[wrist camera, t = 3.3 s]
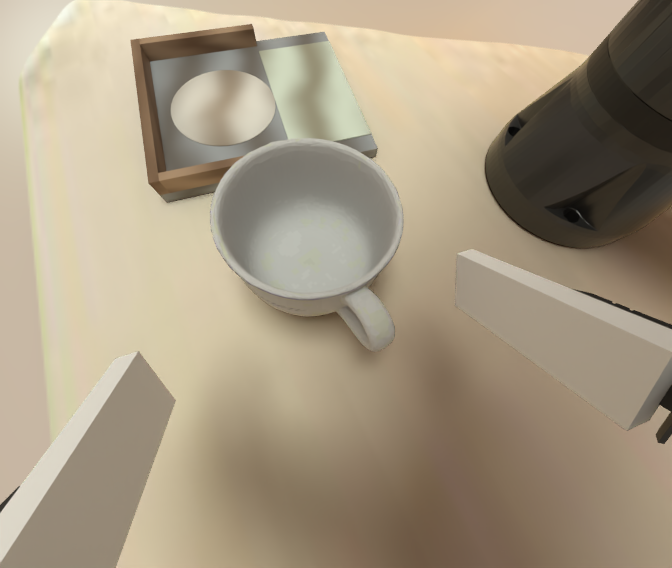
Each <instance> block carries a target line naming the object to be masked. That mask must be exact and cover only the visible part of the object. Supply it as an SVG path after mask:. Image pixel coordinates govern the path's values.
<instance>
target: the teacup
mask: <svg viewBox="0 0 672 568" xmlns="http://www.w3.org/2000/svg"><path fill="white" fill-rule="evenodd" d="M210 224H211V232H212V233H213V239H214V241H215V244H216V247H217V249H218V251H219V252H220V254H221V256H222V257H223V259H224V260H225V261H226V263H227V264H228V265H229V267H230V268H231V269H232V270H233V271H234V272H235V273H236V274H237V275H239V276H240V277H241V279H242V280H243V281H244V282H245V284H246V285H247V286H248V287H249V288H250V289H251V290H252V291H253V292H254V293H255V294H256V295H257V296H258V297H259V298H260V299H261V300H263V301H264V302H266V303H267V304H269V305H270V306H272V307H274V308H276V309H278V310H280V311H283V312H286V313H289V314H293V315H298V316H320V315H325V314H329V313H333V312H337V313H338V314H339V315H340V316H341V317H342V318H343V320H344V321H345V323H346V324H347V325H348V327H349V328H350V329H351V331H352V332H353V333H354V335H355V336H356V337H357V339H358V340H359V341H360V342H361V344H362V345H363V346H364V347H366V348H367V349H368V350H370V351H373V352H376V351H380V350H382V349H384V348H386V347H387V346H388V345H389V344H391V343H392V341H393V339H394V337H395V327H394V324H393V321H392V319H391V316H390V314H389V313H388V311H387V309H386V308H385V306H384V305H383V303H382V302H381V301H380V299H379V298H378V297H377V296H376V295H375V294H374V293H373V292H372V291H371V290H370V289H368V287H369V286H370V285H371V284H372V282H373V281H374V280H375V278H376V277H377V276H378V274H379V273H380V272H381V271H382V270H383V269H384V267H385V266H386V265H387V264H388V263H389V262H390V260H391V259H392V257H393V256H394V254H395V252H396V250H397V248H398V246H399V243H400V239H401V236H402V231H403V209H402V205H401V202H400V199H399V196H398V192H397V190H396V188H395V186H394V185H393V183H392V181H391V180H390V179H389V177H388V176H387V175H386V173H385V172H384V171H383V169H381V168H380V167H379V166H378V165H377V164H376V163H375V162H374V161H372V160H371V159H370V158H368V157H367V156H365V155H364V154H362V153H360V152H359V151H357V150H355V149H353V148H351V147H348V146H346V145H343V144H340V143H337V142H333V141H329V140H323V139H314V138H300V139H288V140H282V141H275V142H270V143H269V144H267V145H265V146H262V147H260V148H258V149H256V150H254V151H251V152H249V153H248V154H246V155H245V156H244V157H243V158H241V159H240V160H238V161H236V162H235V163H234V164H233V165H232V166H231V168H230V169H229V170H228V171H227V172H226V173H225V175H224V176H223V178H222V179H221V181H220V183H219V185H218V186H217V188H216V191H215V193H214V196H213V199H212V204H211V211H210Z"/></svg>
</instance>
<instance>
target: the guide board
mask: <svg viewBox="0 0 672 568" xmlns="http://www.w3.org/2000/svg"><path fill="white" fill-rule="evenodd" d="M131 48H132V56H133V64H134V72H135V79H136V87H137V95H138V103H139V111H140V119H141V127H142V135H143V143H144V151H145V159H146V167H147V175H148V183H149V184H150V185H151V186H152V187H153V188H154V189H155V190H156V191H157V193H158V194H159V195H160V196H161V197H162V198H163V199H164V200H165V201H166V202H171V201H176V200H180V199H185V198H189V197H194V196H198V195H203V194H208V193H212V192H215V191H216V188H217V186H218V185H219V183H220V181H221V179H222V178H223V176H224V175H225V173H226V172H227V171H228V170H229V169H230V168H231V166H232V165H233V164H234V163H235V162H236V161H238V160H240V159H241V158H243V157H244V156H245V155H246V154H248V153H249V152H251V151H254V150H256V149H258V148H260V147H262V146H265V145H267V144H269V143H270V142H275V141H282V140H288V139H300V138H314V139H323V140H329V141H333V142H337V143H340V144H343V145H346V146H348V147H351V148H353V149H355V150H357V151H359V152H360V153H362V154H364V155H365V156H367V157H368V158H371V157H376V153H377V149H378V148H377V146H376V144H375V141H374V139H373V137H372V135H371V134H372V133H371V131H370V129H369V127H368V125H367V123H366V120H365V118H364V116H363V114H362V112H361V109H360V107H359V105H358V103H357V101H356V99H355V96H354V94H353V92H352V90H351V88H350V85H349V83H348V81H347V79H346V77H345V75H344V72H343V70H342V68H341V66H340V64H339V61H338V59H337V57H336V55H335V53H334V51H333V48H332V46H331V44H330V42H329V41H328V39H327V36H326V34H325V32H320V33H312V34H305V35H298V36H291V37H284V38H277V39H270V40H263V41H256V39H255V34H254V29H253V26H252V24H249V25H242V26H234V27H226V28H219V29H211V30H203V31H196V32H188V33H180V34H173V35H165V36H157V37H150V38H142V39H134V40H131Z"/></svg>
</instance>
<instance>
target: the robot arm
mask: <svg viewBox="0 0 672 568" xmlns="http://www.w3.org/2000/svg"><path fill="white" fill-rule="evenodd" d="M486 175H487V179H488V183H489V185H490V188H491V190H492V192H493V194H494V196H495V198H496V199H497V201H498V202H499V204H500V205H501V206H502V208H503V209H504V210H505V211H506V212H507V213H508V214H509V215H510V216H511V217H512V218H513V219H514V220H515V221H516V222H517V223H518V224H520V225H521V226H522V227H524V228H525V229H527V230H528V231H530V232H531V233H533V234H535V235H537V236H539V237H541V238H543V239H545V240H547V241H550V242H553V243H556V244H559V245H563V246H568V247H575V248H592V247H599V246H603V245H606V244H608V243H611V242H613V241H616V240H618V239H620V238H623V237H625V236H627V235H630V234H632V233H634V232H636V231H638V230H640V229H641V228H643V227H645V226H646V225H647V224H649V223H650V222H651V221H653V220H654V219H655V218H656V217H658V216H659V215H660V214H661V213H663V212H664V211H665V210H667V209H668V208H669V207H670V206H672V0H638V1H637V3H636V4H635V5H634V6H633V7H632V8H631V9H630V11H629V12H628V13H627V14H626V15H625V16H624V18H622V20H621V21H620V22H619V23H618V24H617V25H616V26H615V28H614V29H613V30H612V31H611V33H610V34H609V35H608V36H607V37H606V38H605V39H604V41H603V42H602V43H601V44H600V45H599V46H598V47H597V49H596V50H595V51H594V52H593V53H592V54H591V55H590V56H589V57H588V59H587V60H586V61H585V62H584V63H583V64H582V65H581V66H579V67H578V68H577V69H576V70H574V71H573V72H572V73H570V74H569V75H568V76H567V77H565V78H564V79H563V80H561V81H560V82H559V83H557V84H556V85H555V86H553V87H552V88H551V89H549V90H548V91H547V92H546V93H544V94H543V95H542V96H540V97H539V98H538V99H536V100H535V101H534V102H532V103H531V104H530V105H528V106H527V107H526V108H525V109H523V110H522V111H521V112H519V113H518V114H517V115H515V116H514V117H513V118H512V119H511V120H510V121H509V122H508V123H507V124H506V126H505V127H504V128H503V130H502V131H501V132H500V133H499V135H498V136H497V137H496V139H495V140H494V141H493V143H492V144H491V146H490V148H489V150H488V153H487V157H486ZM455 306H456V307H458V308H459V309H461V310H462V311H463V312H465V313H466V314H467V315H469V316H470V317H471V318H473V319H474V320H476V321H477V322H478V323H480V324H481V325H482V326H484V327H485V328H487V329H488V330H489V331H491V332H492V333H493V334H495V335H496V336H497V337H499V338H500V339H502V340H503V341H504V342H506V343H507V344H508V345H510V346H511V347H513V348H514V349H515V350H517V351H518V352H519V353H521V354H522V355H523V356H525V357H526V358H528V359H529V360H530V361H532V362H533V363H534V364H536V365H537V366H539V367H540V368H541V369H543V370H544V371H545V372H547V373H548V374H549V375H551V376H552V377H554V378H555V379H556V380H558V381H559V382H560V383H562V384H563V385H565V386H566V387H567V388H569V389H570V390H571V391H573V392H574V393H575V394H577V395H578V396H580V397H581V398H582V399H584V400H585V401H586V402H588V403H589V404H590V405H592V406H593V407H595V408H596V409H597V410H599V411H600V412H601V413H603V414H604V415H606V416H607V417H608V418H610V419H611V420H612V421H614V422H615V423H616V424H618V425H619V426H621V427H622V428H623V429H625V430H626V431H628V430H630V429H632V428H634V427H636V426H638V425H640V424H642V423H645V422H647V421H649V420H650V418H651V417H652V415H653V414H654V412H655V411H656V409H657V408H658V406H659V405H661V406H663V407H664V408H666V409H668V410H669V411H671V413H670V414H669V415H668V417H667V418H666V420H665V421H664V423H663V424H662V425H661V427H660V428H659V430H658V432H657V433H656V437H657V441H658V443H662V444H665V442H666V441H667V440H668V438H669V437H670V436H671V434H672V325H670V324H668V323H665V322H663V321H660V320H658V319H655V318H653V317H650V316H648V315H645V314H642V313H640V312H637V311H635V310H633V311H631V310H630V308H627V307H625V306H622V305H620V304H617V303H616V304H613V303H612V301H609V300H607V299H604V298H602V297H599V296H597V295H594V294H591V293H587V292H583V291H578V290H574V289H570V288H568V287H565V286H563V285H561V284H558V283H556V282H553V281H551V280H548V279H546V278H543V277H541V276H538V275H536V274H533V273H531V272H528V271H526V270H523V269H521V268H518V267H516V266H513V265H511V264H508V263H506V262H504V261H501V260H499V259H496V258H494V257H491V256H489V255H486V254H484V253H481V252H479V251H476V250H474V249H470V250H466V251H463V252H460V253H457V262H456V287H455ZM175 401H176V400H175V399H174V397H173V396H172V395H171V393H170V392H169V391H168V389H167V388H166V387H165V385H164V384H163V383H162V382H161V380H160V379H159V378H158V376H157V375H156V374H155V372H154V371H153V370H152V368H151V367H150V366H149V364H148V363H147V362H146V360H145V359H144V358H143V356H142V355H141V354H140V352H139V351H137V352H134V353H131V354H128V355H124V356H121V357H118V358H115V360H114V361H113V362H112V364H111V365H110V367H109V368H108V369H107V371H106V372H105V373H104V375H103V376H102V377H101V379H100V380H99V381H98V383H97V384H96V385H95V387H94V388H93V389H92V391H91V392H90V393H89V395H88V396H87V397H86V399H85V400H84V401H83V403H82V404H81V405H80V407H79V408H78V409H77V411H76V412H75V413H74V415H73V416H72V417H71V419H70V420H69V421H68V423H67V424H66V426H65V427H64V428H63V430H62V431H61V432H60V434H59V435H58V436H57V438H56V439H55V440H54V442H53V443H52V444H51V446H50V447H49V448H48V450H47V451H46V452H45V454H44V455H43V456H42V458H41V459H40V460H39V462H38V463H37V464H36V466H35V467H34V469H33V470H32V471H31V473H30V474H29V475H28V477H27V478H26V479H25V481H24V482H23V483H22V485H21V486H19V487H18V488H17V489H16V490H15V491H14V492H13V493H12V494H11V495H10V496H9V497H8V498H7V499H6V500H5V501H4V502H3V503H2V504H1V505H0V568H116V565H117V562H118V560H119V557H120V554H121V551H122V549H123V546H124V543H125V540H126V537H127V535H128V532H129V529H130V526H131V523H132V521H133V518H134V515H135V512H136V510H137V507H138V504H139V501H140V498H141V496H142V493H143V490H144V487H145V485H146V482H147V479H148V476H149V473H150V471H151V468H152V465H153V462H154V459H155V457H156V454H157V451H158V448H159V446H160V443H161V440H162V437H163V434H164V432H165V429H166V426H167V423H168V421H169V418H170V415H171V412H172V409H173V407H174V404H175Z"/></svg>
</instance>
